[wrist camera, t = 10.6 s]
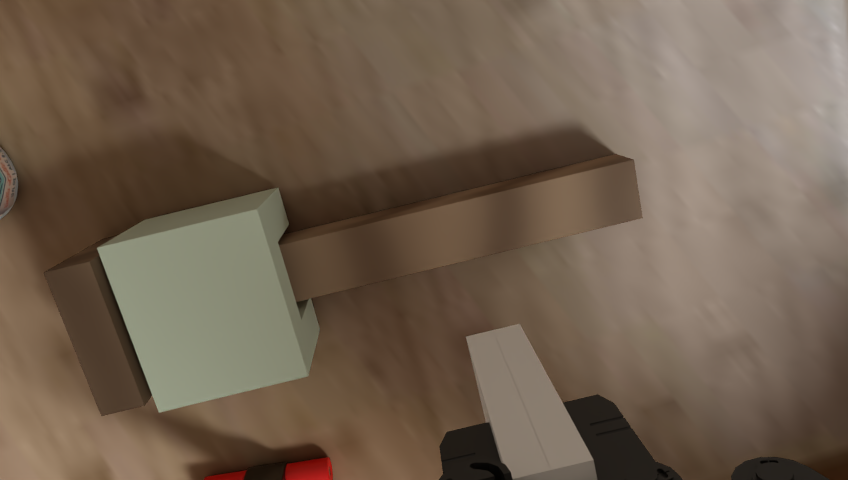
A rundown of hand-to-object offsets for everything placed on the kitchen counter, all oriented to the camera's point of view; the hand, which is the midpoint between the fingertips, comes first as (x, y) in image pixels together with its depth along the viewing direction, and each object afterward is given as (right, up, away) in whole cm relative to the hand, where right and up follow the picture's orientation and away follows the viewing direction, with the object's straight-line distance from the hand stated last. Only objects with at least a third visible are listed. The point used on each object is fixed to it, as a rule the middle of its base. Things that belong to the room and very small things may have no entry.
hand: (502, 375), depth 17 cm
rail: (-4, +4, +17) cm, 18 cm away
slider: (-12, +2, +17) cm, 21 cm away
